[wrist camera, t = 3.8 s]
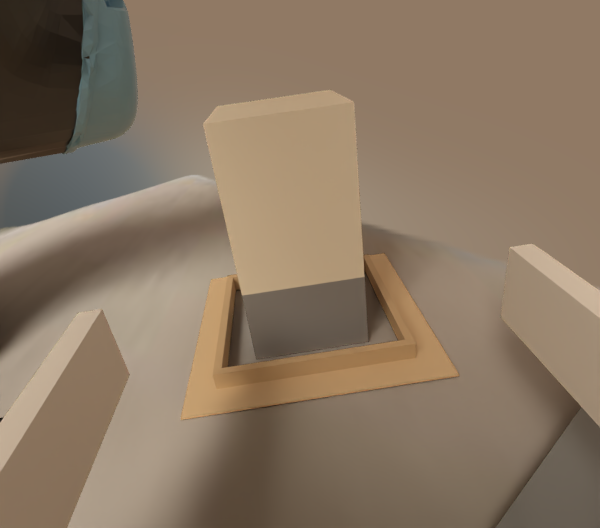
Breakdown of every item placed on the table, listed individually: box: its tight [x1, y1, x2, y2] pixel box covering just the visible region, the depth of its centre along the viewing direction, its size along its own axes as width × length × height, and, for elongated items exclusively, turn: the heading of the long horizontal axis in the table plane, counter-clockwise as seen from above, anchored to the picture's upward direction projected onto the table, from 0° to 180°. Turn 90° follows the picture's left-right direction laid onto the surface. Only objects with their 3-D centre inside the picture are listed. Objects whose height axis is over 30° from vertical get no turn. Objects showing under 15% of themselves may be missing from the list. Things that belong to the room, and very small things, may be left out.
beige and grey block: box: [203, 90, 369, 359], centre depth 22 cm, size 6×6×12 cm
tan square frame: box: [181, 253, 459, 420], centre depth 24 cm, size 13×13×1 cm
